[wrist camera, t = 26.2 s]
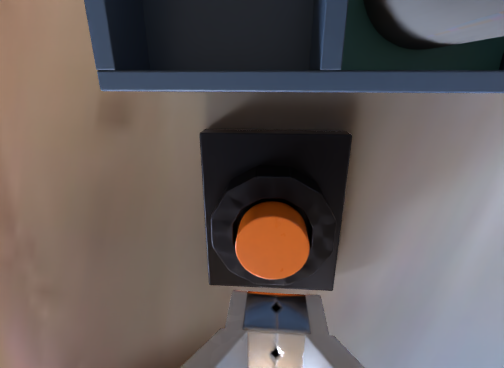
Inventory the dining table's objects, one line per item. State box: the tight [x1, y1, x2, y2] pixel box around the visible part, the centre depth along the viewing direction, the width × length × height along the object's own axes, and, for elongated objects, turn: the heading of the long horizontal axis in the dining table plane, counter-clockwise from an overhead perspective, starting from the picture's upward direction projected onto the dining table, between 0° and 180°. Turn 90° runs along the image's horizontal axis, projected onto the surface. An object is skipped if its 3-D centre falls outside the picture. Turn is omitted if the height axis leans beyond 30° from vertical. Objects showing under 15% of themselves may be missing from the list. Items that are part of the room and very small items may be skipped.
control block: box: [200, 129, 352, 291], centre depth 16 cm, size 10×8×3 cm
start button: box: [235, 201, 310, 279], centre depth 14 cm, size 4×4×2 cm
